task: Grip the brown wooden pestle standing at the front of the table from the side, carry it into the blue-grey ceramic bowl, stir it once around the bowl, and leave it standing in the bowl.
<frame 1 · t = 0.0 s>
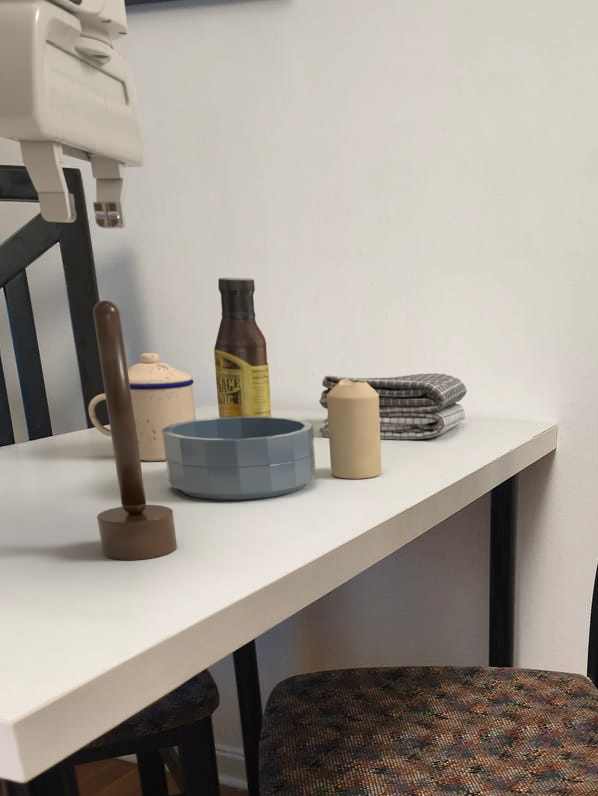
hand: (87, 225, 65), 24 cm above the table, tool pointing down, fingers open, 8 cm apart
bowl: (244, 485, 93), on the table
teacup with lid: (149, 456, 107), on the table
towel: (394, 431, 125), on the table
sauce bottle: (248, 451, 111), on the table
candle: (356, 475, 98), on the table
brown wooden pestle: (140, 549, 71), on the table
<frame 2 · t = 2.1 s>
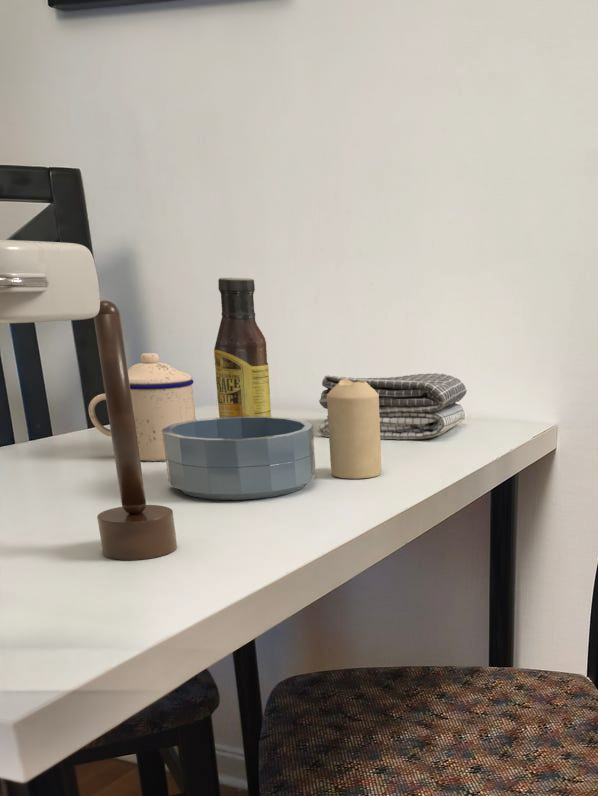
nothing on the table moved.
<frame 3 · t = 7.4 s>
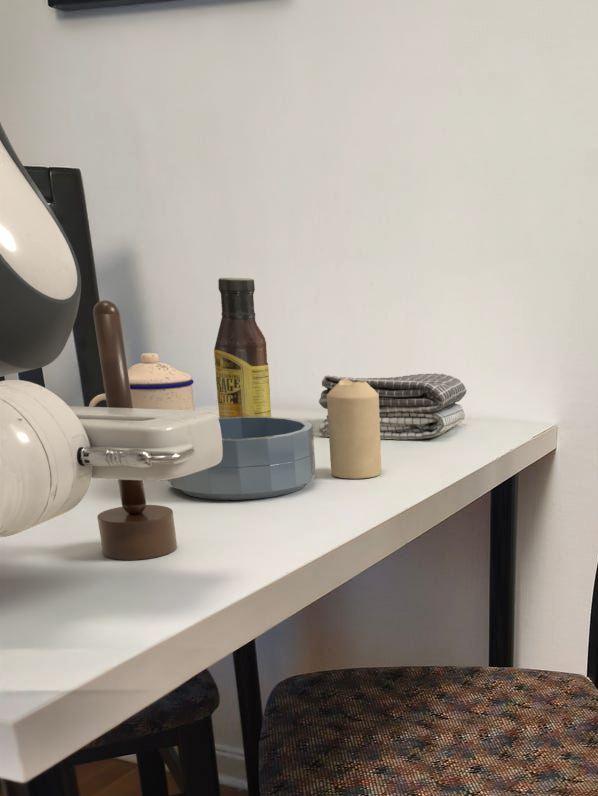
hand: (128, 421, 68), 10 cm above the table, tool horizontal, fingers closed on brown wooden pestle
brown wooden pestle: (140, 549, 71), on the table, touching gripper
everything else where it was.
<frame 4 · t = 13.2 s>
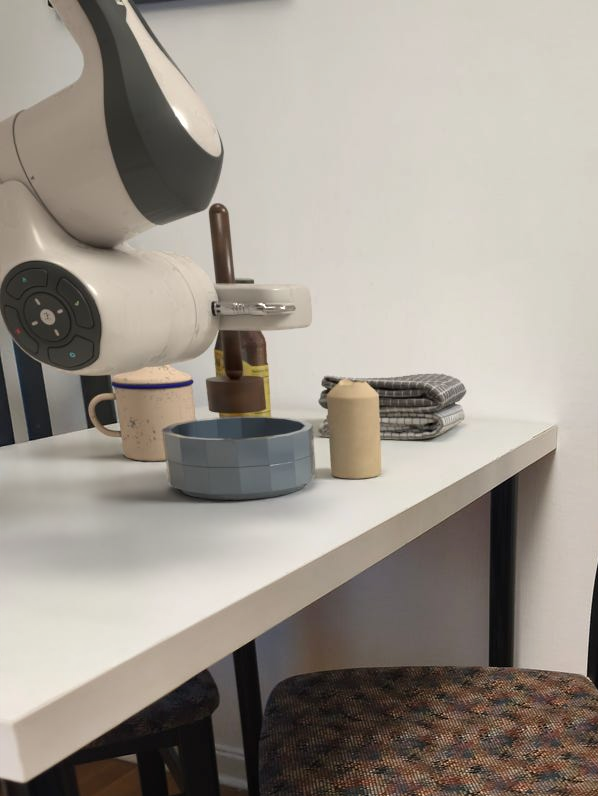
hand: (231, 303, 87), 18 cm above the table, tool horizontal, fingers closed on brown wooden pestle
brown wooden pestle: (237, 409, 90), point 8 cm above the table, touching gripper
everything else where it was.
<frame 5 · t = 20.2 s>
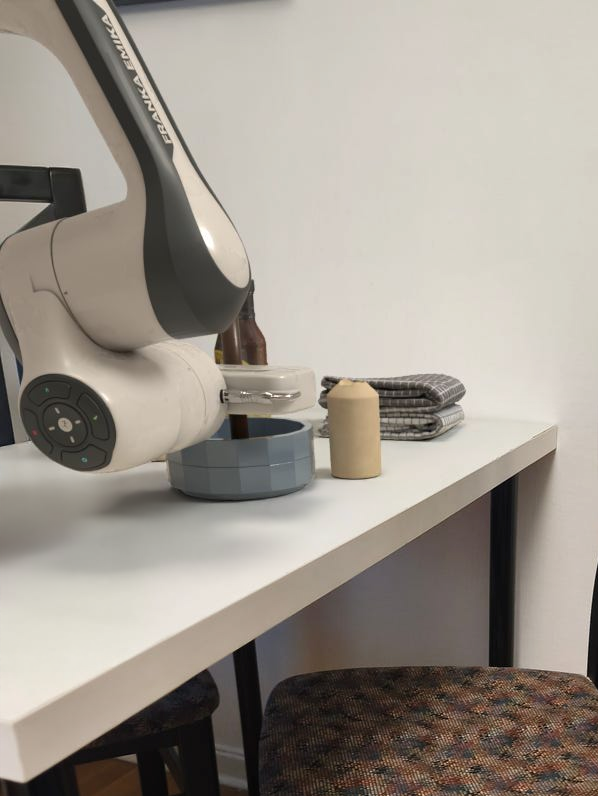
hand: (237, 377, 89), 11 cm above the table, tool horizontal, fingers open, 8 cm apart
brown wooden pestle: (243, 478, 92), point 1 cm above the table, touching bowl
everything else where it was.
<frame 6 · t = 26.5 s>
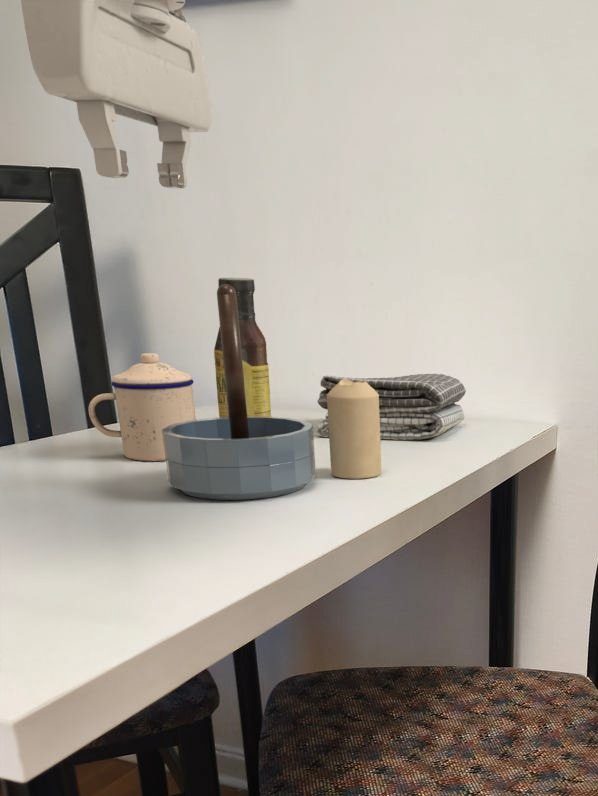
hand: (145, 182, 70), 27 cm above the table, tool pointing down, fingers open, 8 cm apart
nothing on the table moved.
at the end: brown wooden pestle 0.1 cm off-centre in the bowl, point 0.8 cm above the bowl's base; brown wooden pestle tilted 0°; brown wooden pestle moved 23.2 cm from its start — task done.
